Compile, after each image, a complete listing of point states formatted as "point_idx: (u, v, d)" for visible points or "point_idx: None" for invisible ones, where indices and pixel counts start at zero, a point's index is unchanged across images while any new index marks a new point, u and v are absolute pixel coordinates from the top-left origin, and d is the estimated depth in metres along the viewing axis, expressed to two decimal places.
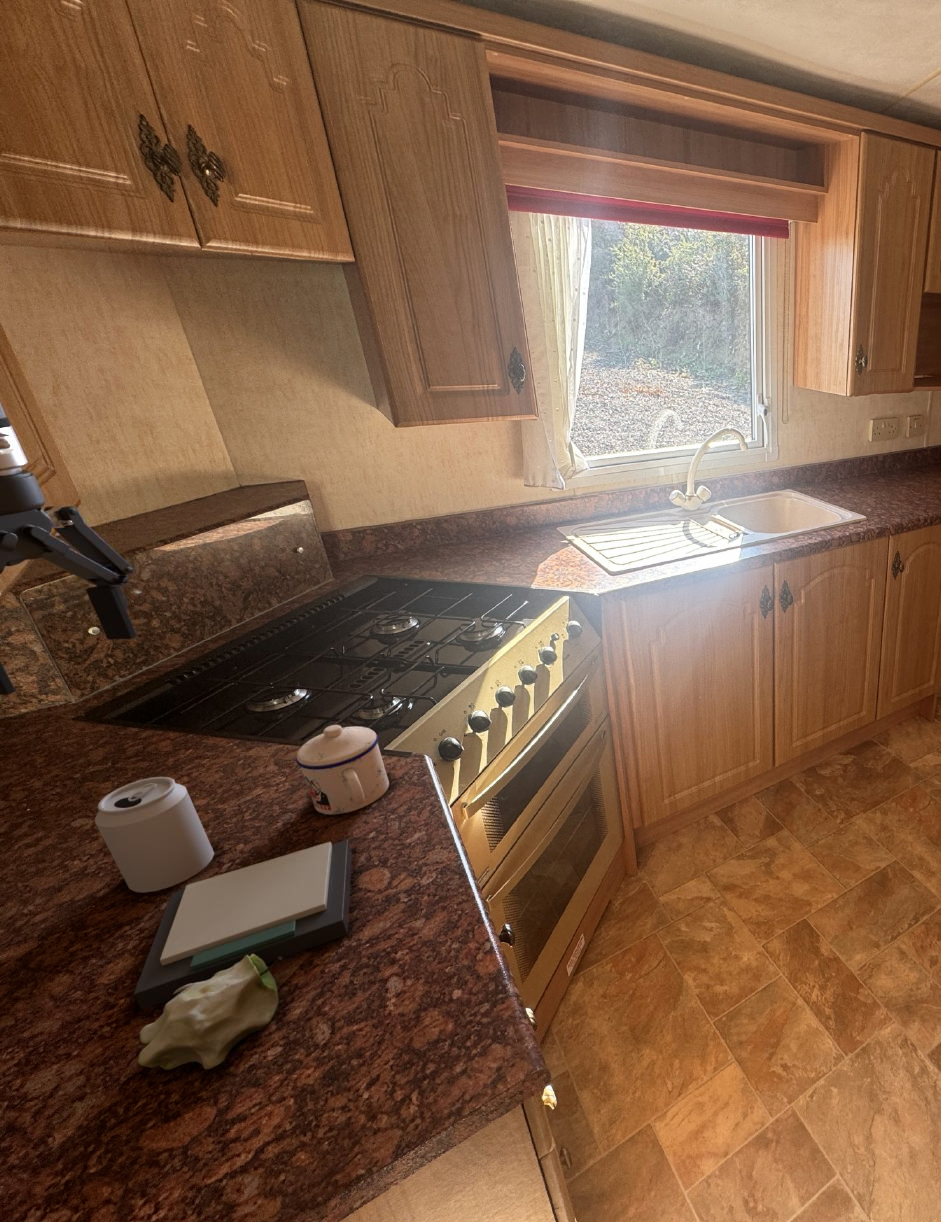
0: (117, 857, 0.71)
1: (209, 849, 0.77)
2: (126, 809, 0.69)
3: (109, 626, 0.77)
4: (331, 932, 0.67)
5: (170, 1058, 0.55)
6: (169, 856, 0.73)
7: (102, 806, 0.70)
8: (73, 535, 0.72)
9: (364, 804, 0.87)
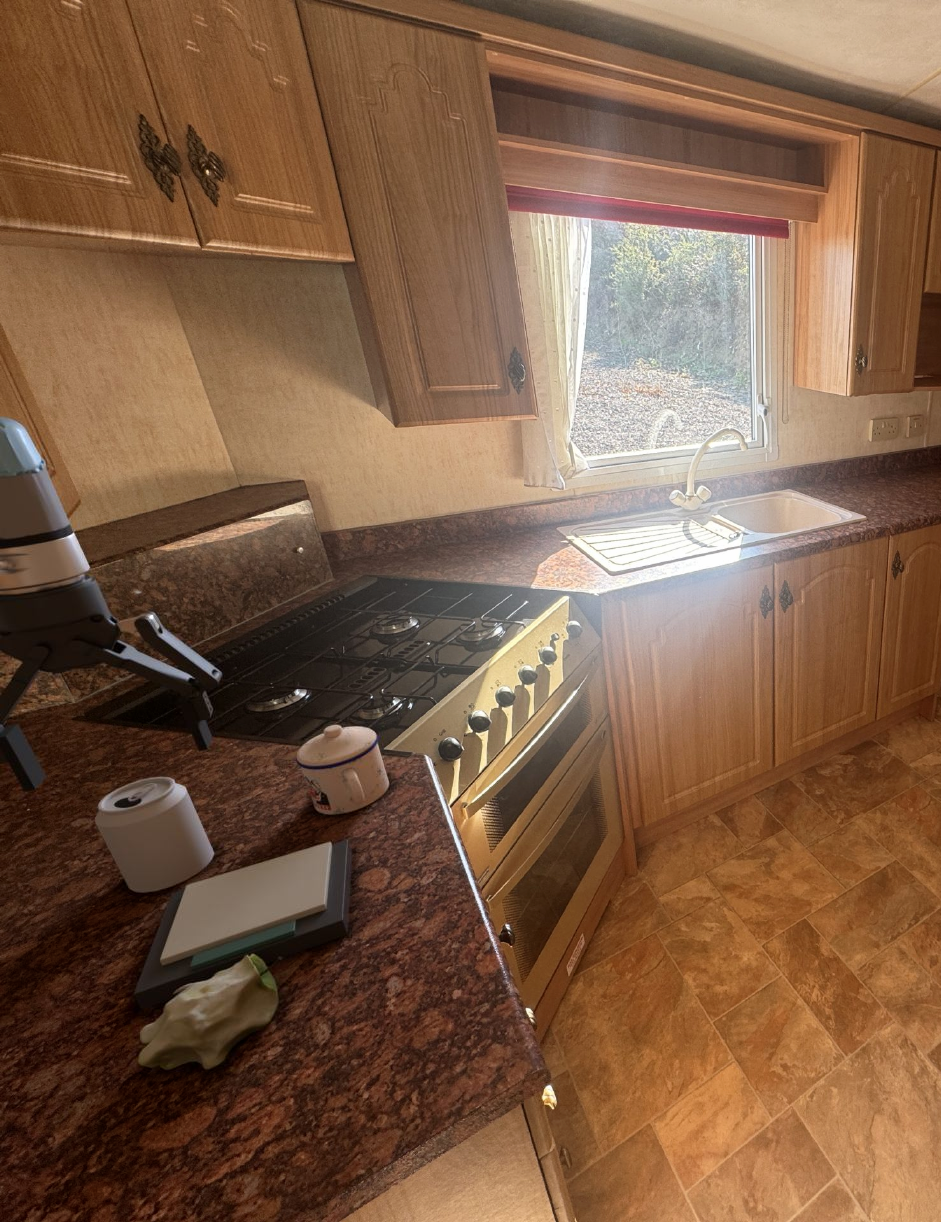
0: (117, 857, 0.71)
1: (209, 849, 0.77)
2: (126, 809, 0.69)
3: None
4: (331, 932, 0.67)
5: (170, 1058, 0.55)
6: (169, 856, 0.73)
7: (102, 806, 0.70)
8: None
9: (364, 804, 0.87)
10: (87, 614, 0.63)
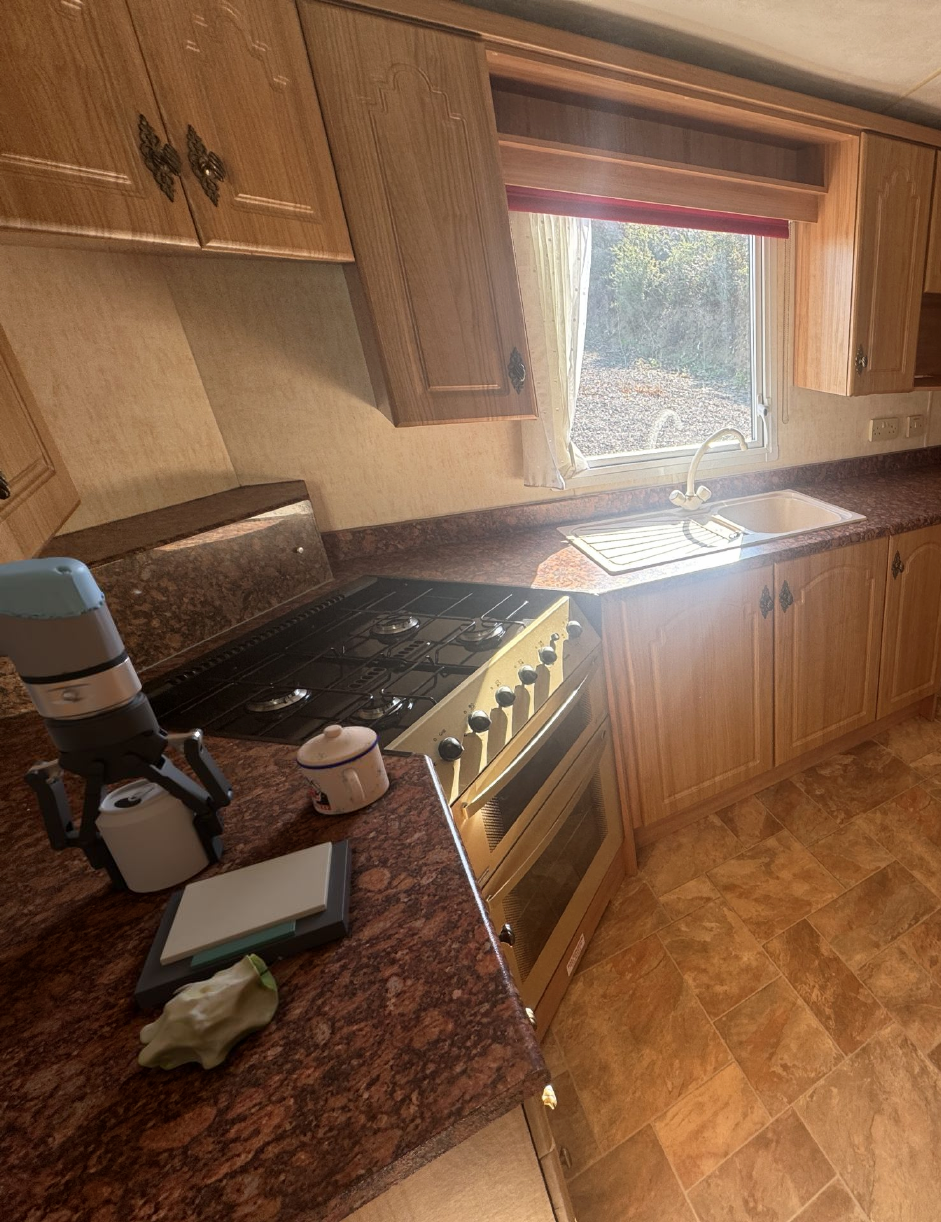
0: (117, 857, 0.71)
1: None
2: (126, 809, 0.69)
3: None
4: (331, 932, 0.67)
5: (170, 1058, 0.55)
6: (169, 856, 0.73)
7: (102, 806, 0.70)
8: None
9: (364, 804, 0.87)
10: (139, 731, 0.69)
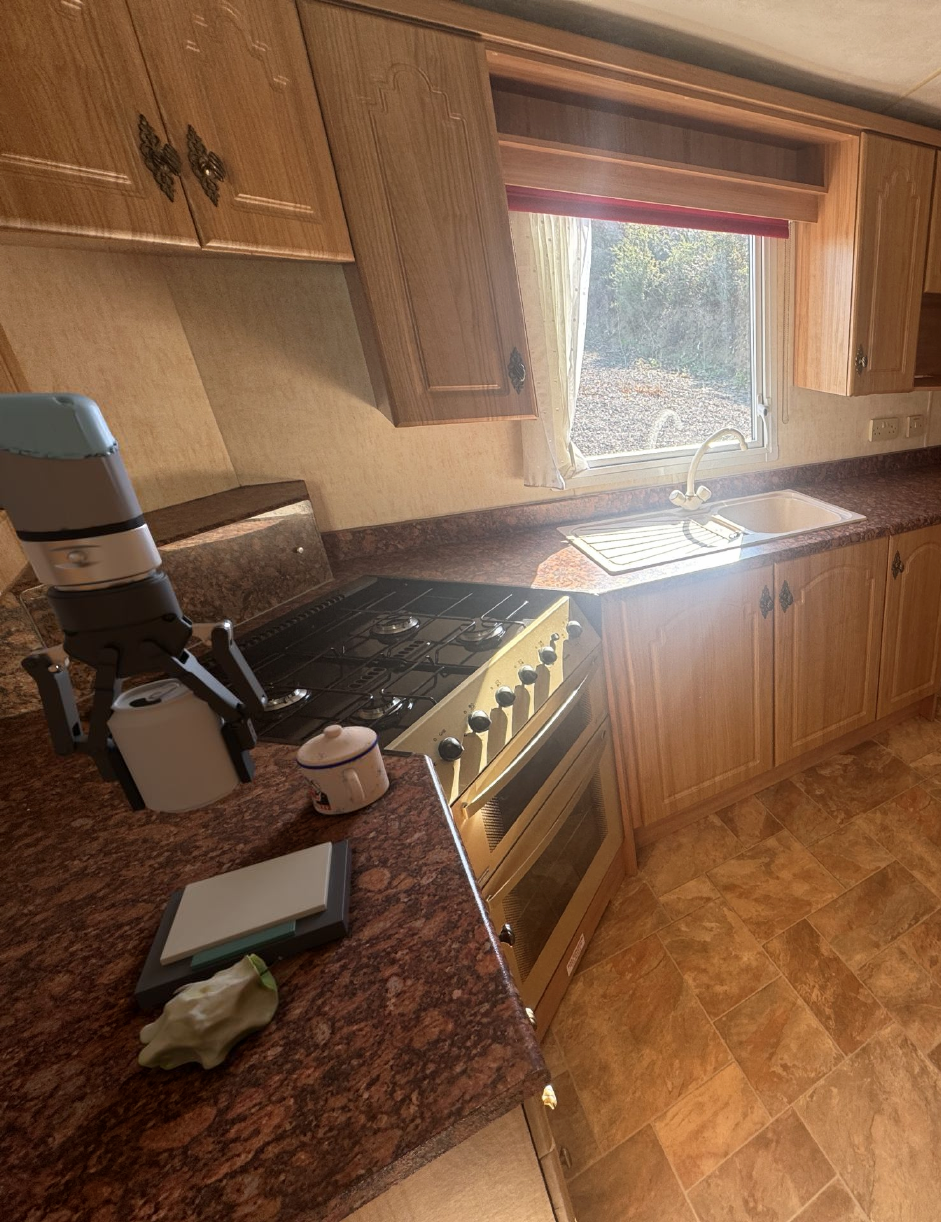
0: (133, 766, 0.60)
1: None
2: (144, 707, 0.58)
3: None
4: (331, 932, 0.67)
5: (170, 1058, 0.55)
6: (194, 768, 0.61)
7: (115, 705, 0.59)
8: None
9: (364, 804, 0.87)
10: (160, 613, 0.57)
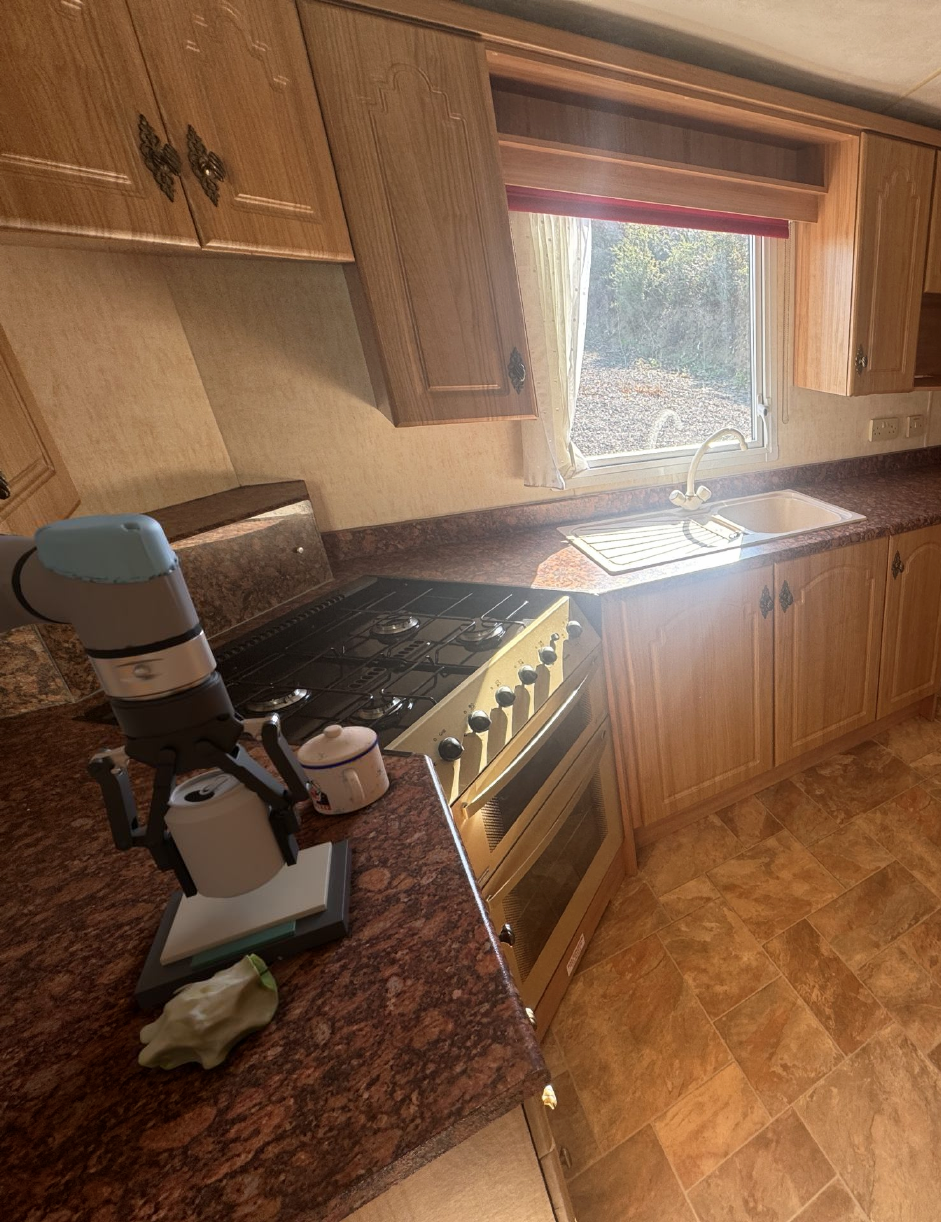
0: (188, 858, 0.62)
1: None
2: (199, 803, 0.61)
3: None
4: (331, 932, 0.67)
5: (170, 1058, 0.55)
6: (245, 856, 0.64)
7: (171, 800, 0.61)
8: None
9: (364, 804, 0.87)
10: (215, 714, 0.60)
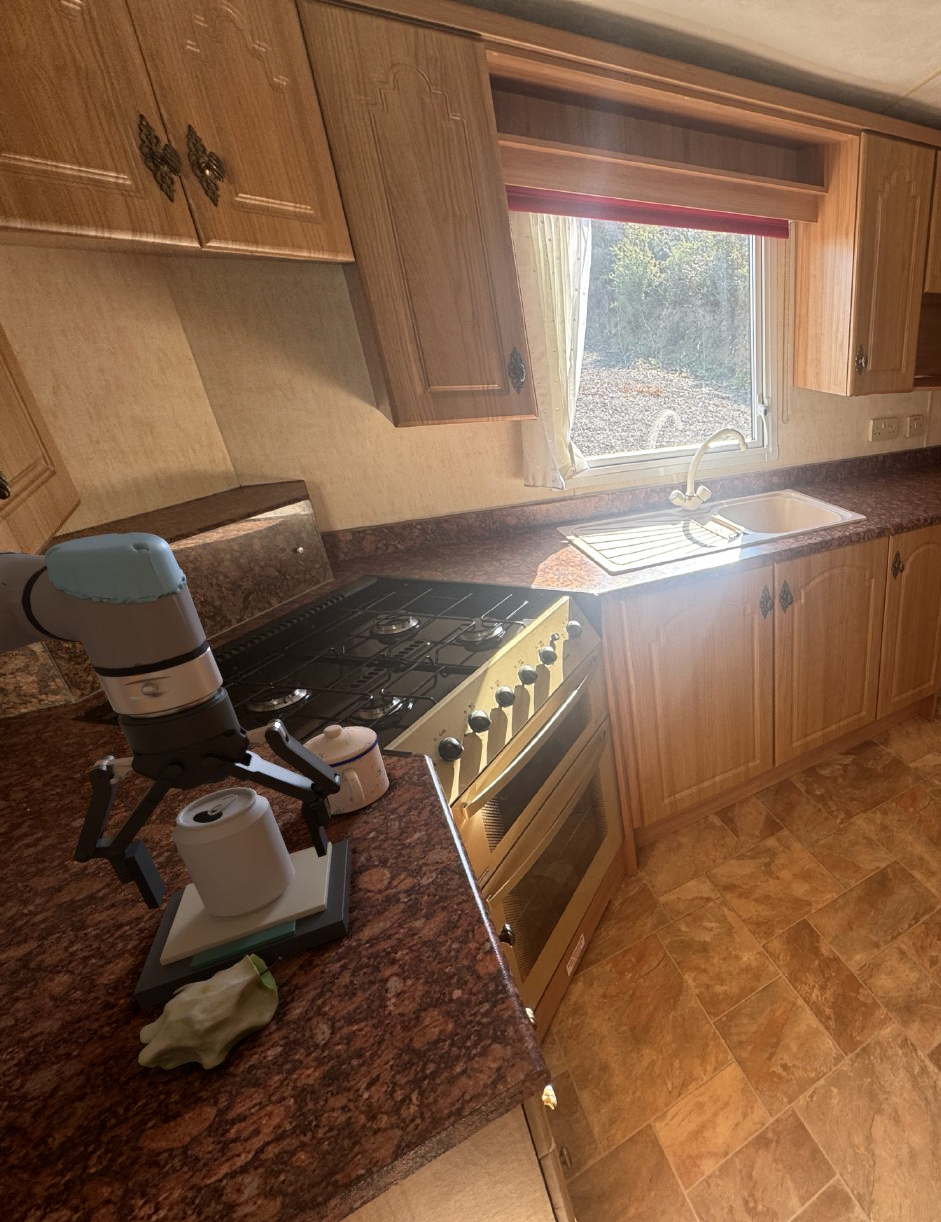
0: (196, 877, 0.63)
1: (291, 867, 0.70)
2: (208, 824, 0.62)
3: None
4: (331, 932, 0.67)
5: (170, 1058, 0.55)
6: (252, 875, 0.65)
7: (180, 821, 0.62)
8: None
9: (364, 804, 0.87)
10: (221, 730, 0.61)
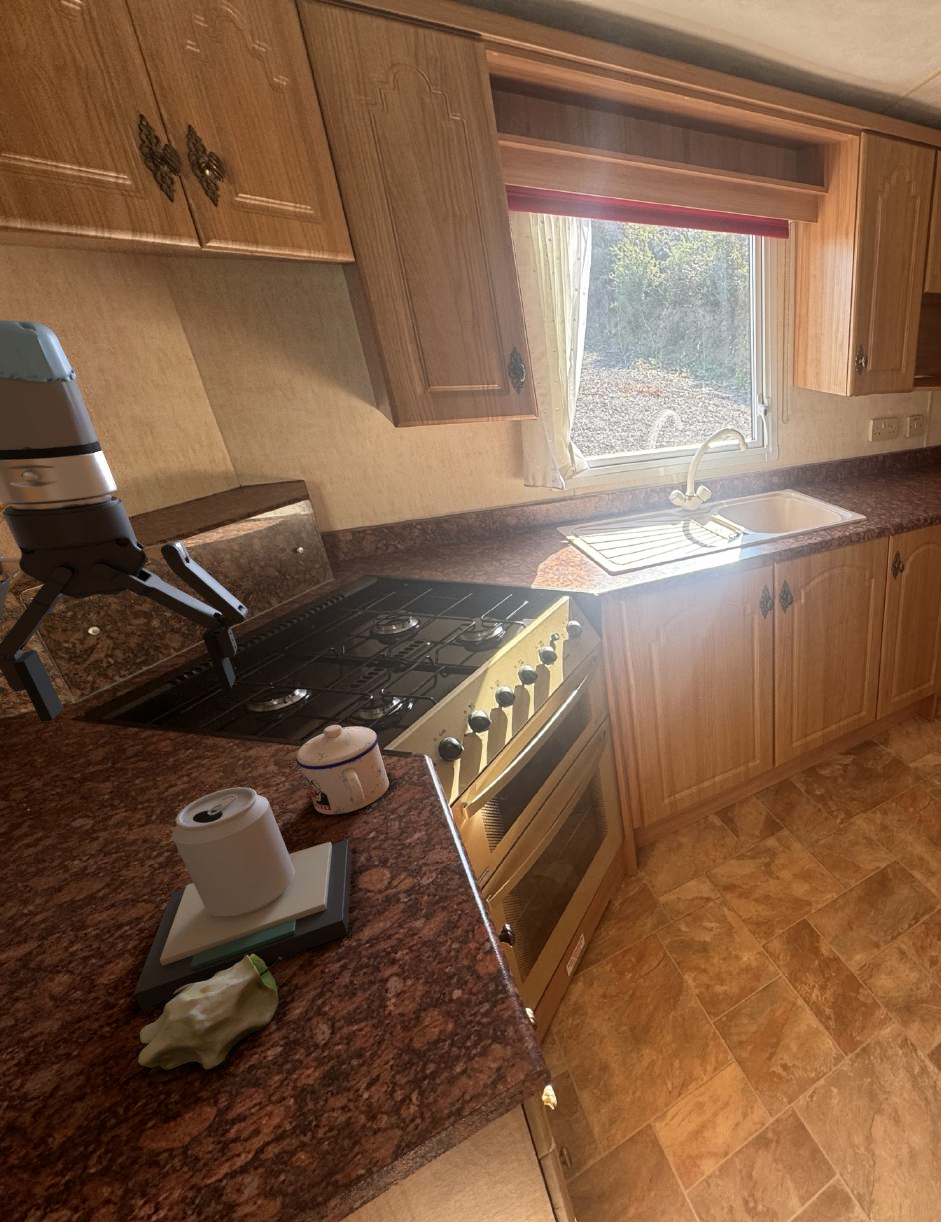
0: (196, 877, 0.63)
1: (291, 867, 0.70)
2: (208, 824, 0.62)
3: None
4: (331, 932, 0.67)
5: (170, 1058, 0.55)
6: (252, 875, 0.65)
7: (180, 821, 0.62)
8: None
9: (364, 804, 0.87)
10: (113, 536, 0.60)
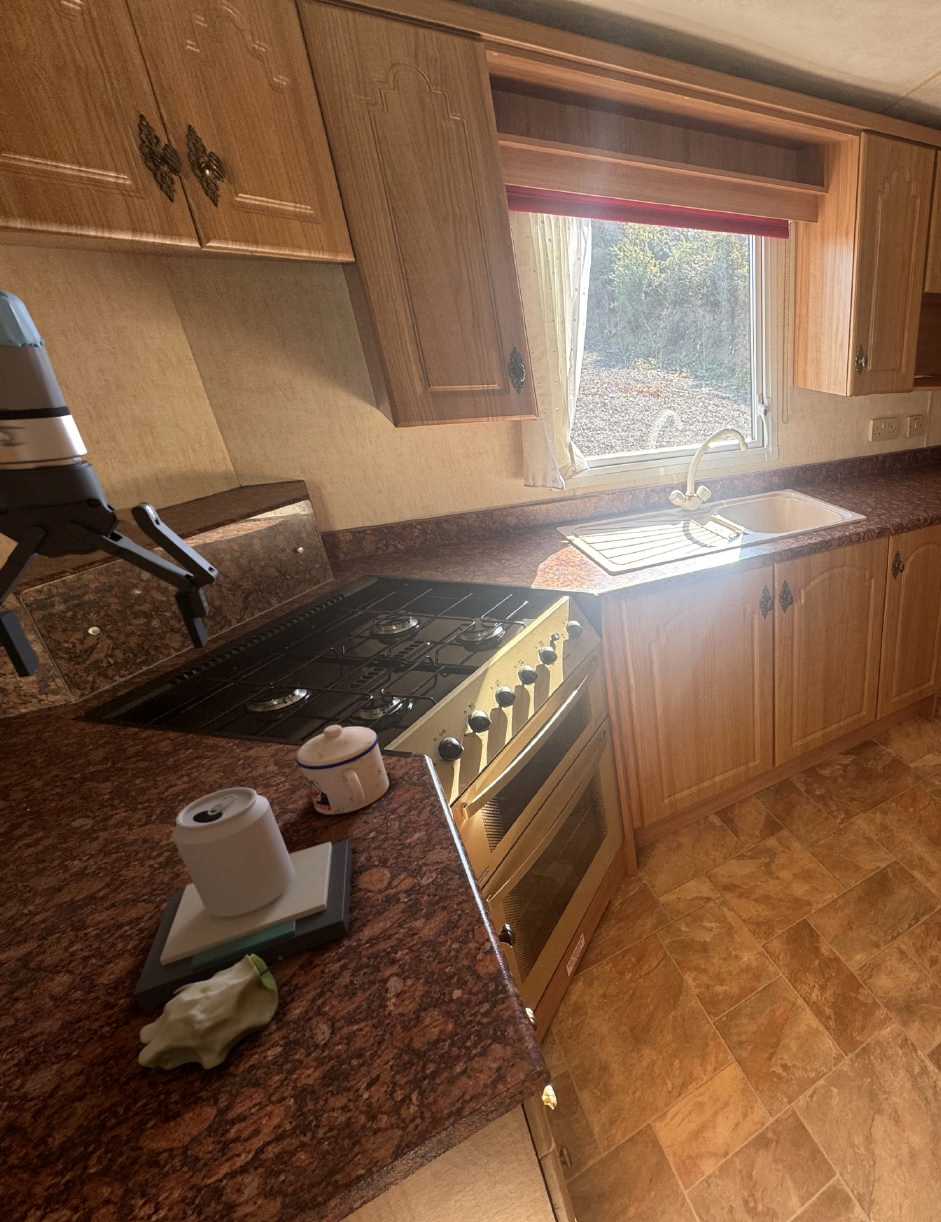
0: (196, 877, 0.63)
1: (291, 867, 0.70)
2: (208, 824, 0.62)
3: None
4: (331, 932, 0.67)
5: (170, 1058, 0.55)
6: (252, 875, 0.65)
7: (180, 821, 0.62)
8: None
9: (364, 804, 0.87)
10: (84, 497, 0.63)
